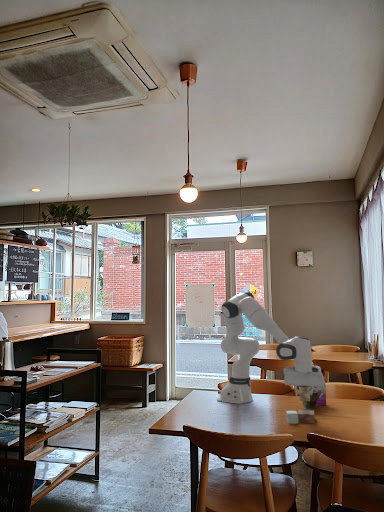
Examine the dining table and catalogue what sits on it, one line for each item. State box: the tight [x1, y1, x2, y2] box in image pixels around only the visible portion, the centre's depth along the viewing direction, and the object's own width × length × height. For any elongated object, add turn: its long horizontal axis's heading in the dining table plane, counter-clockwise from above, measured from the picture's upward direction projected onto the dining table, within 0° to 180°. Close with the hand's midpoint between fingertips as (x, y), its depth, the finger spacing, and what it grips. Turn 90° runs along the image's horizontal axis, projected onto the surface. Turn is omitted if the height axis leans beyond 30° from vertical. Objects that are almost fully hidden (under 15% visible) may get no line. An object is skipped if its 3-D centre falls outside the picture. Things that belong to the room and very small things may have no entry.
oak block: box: [298, 386, 310, 402], centre depth 201 cm, size 5×5×7 cm
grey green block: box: [285, 410, 299, 425], centre depth 197 cm, size 5×5×5 cm
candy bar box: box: [309, 376, 327, 407], centre depth 229 cm, size 11×5×16 cm, turn 84°
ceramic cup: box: [301, 389, 318, 411], centre depth 220 cm, size 13×10×10 cm
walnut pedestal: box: [297, 409, 316, 424], centre depth 200 cm, size 8×8×4 cm
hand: (304, 394), depth 201 cm, fingers closed on oak block, 5 cm apart
